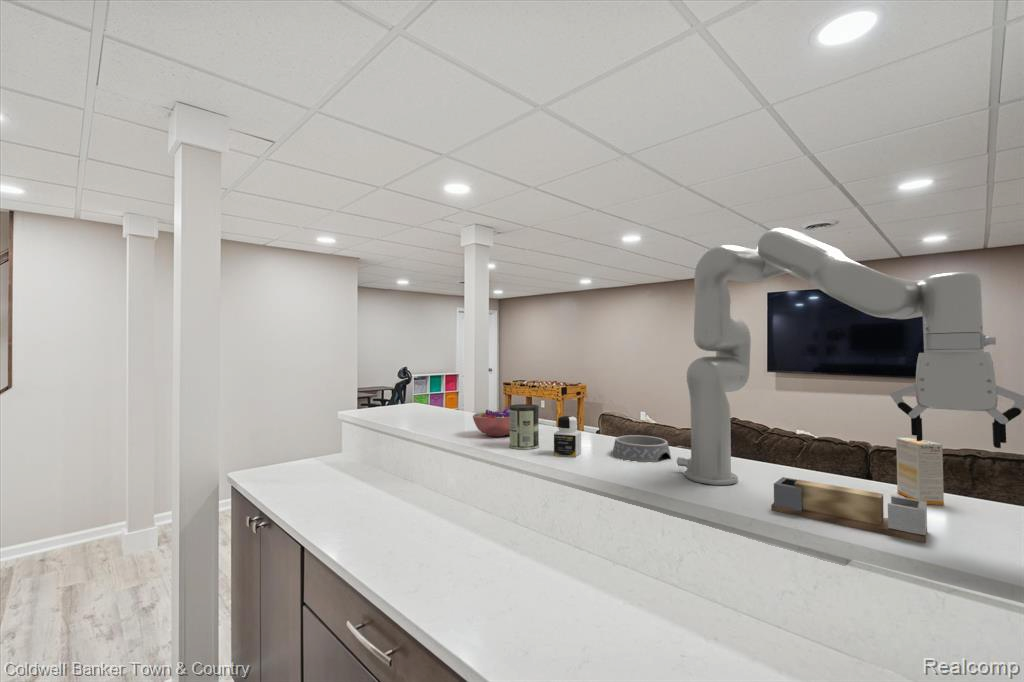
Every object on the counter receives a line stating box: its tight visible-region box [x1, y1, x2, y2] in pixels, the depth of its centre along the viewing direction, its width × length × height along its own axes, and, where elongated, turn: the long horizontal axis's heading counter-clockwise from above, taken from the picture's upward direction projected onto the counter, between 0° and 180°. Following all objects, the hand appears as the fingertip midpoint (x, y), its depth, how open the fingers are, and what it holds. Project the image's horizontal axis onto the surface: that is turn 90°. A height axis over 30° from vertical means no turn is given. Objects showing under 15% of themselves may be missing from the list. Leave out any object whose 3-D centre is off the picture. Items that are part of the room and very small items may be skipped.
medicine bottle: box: [553, 415, 582, 458], centre depth 148 cm, size 7×7×12 cm
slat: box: [794, 479, 885, 525], centre depth 91 cm, size 14×4×5 cm, turn 46°
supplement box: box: [895, 437, 945, 506], centre depth 104 cm, size 8×5×13 cm, turn 168°
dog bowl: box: [611, 434, 672, 463], centre depth 146 cm, size 17×18×5 cm
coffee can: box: [508, 403, 540, 451], centre depth 160 cm, size 10×10×14 cm
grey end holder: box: [773, 476, 803, 511], centre depth 97 cm, size 5×7×4 cm
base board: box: [770, 502, 928, 544], centre depth 91 cm, size 24×7×1 cm, turn 46°
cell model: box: [472, 405, 510, 437], centre depth 180 cm, size 17×20×11 cm
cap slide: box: [887, 495, 928, 535], centre depth 84 cm, size 5×7×4 cm
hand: (956, 443), depth 80 cm, fingers open, 9 cm apart
